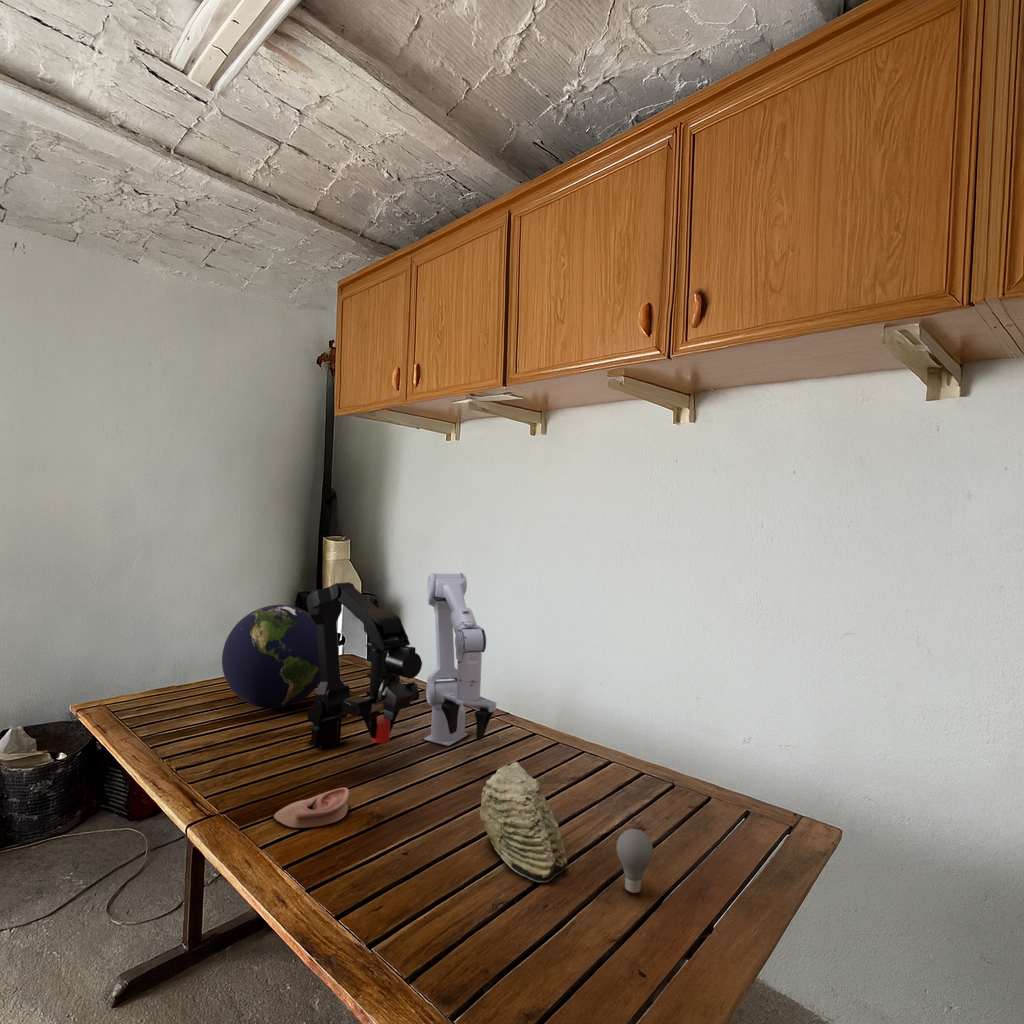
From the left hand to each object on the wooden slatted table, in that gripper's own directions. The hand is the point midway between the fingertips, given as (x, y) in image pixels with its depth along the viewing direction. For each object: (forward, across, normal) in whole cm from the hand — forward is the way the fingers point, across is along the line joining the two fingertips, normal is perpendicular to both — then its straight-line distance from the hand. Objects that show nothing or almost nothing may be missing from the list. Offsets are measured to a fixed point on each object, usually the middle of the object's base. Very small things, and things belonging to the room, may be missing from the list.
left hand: (380, 735), depth 148 cm
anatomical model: (+8, -23, -7) cm, 25 cm away
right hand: (0, +15, -14) cm, 20 cm away
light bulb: (+8, -1, -67) cm, 67 cm away
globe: (+8, +6, +56) cm, 57 cm away
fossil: (+8, -6, -46) cm, 47 cm away
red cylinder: (+1, 0, 0) cm, 1 cm away
